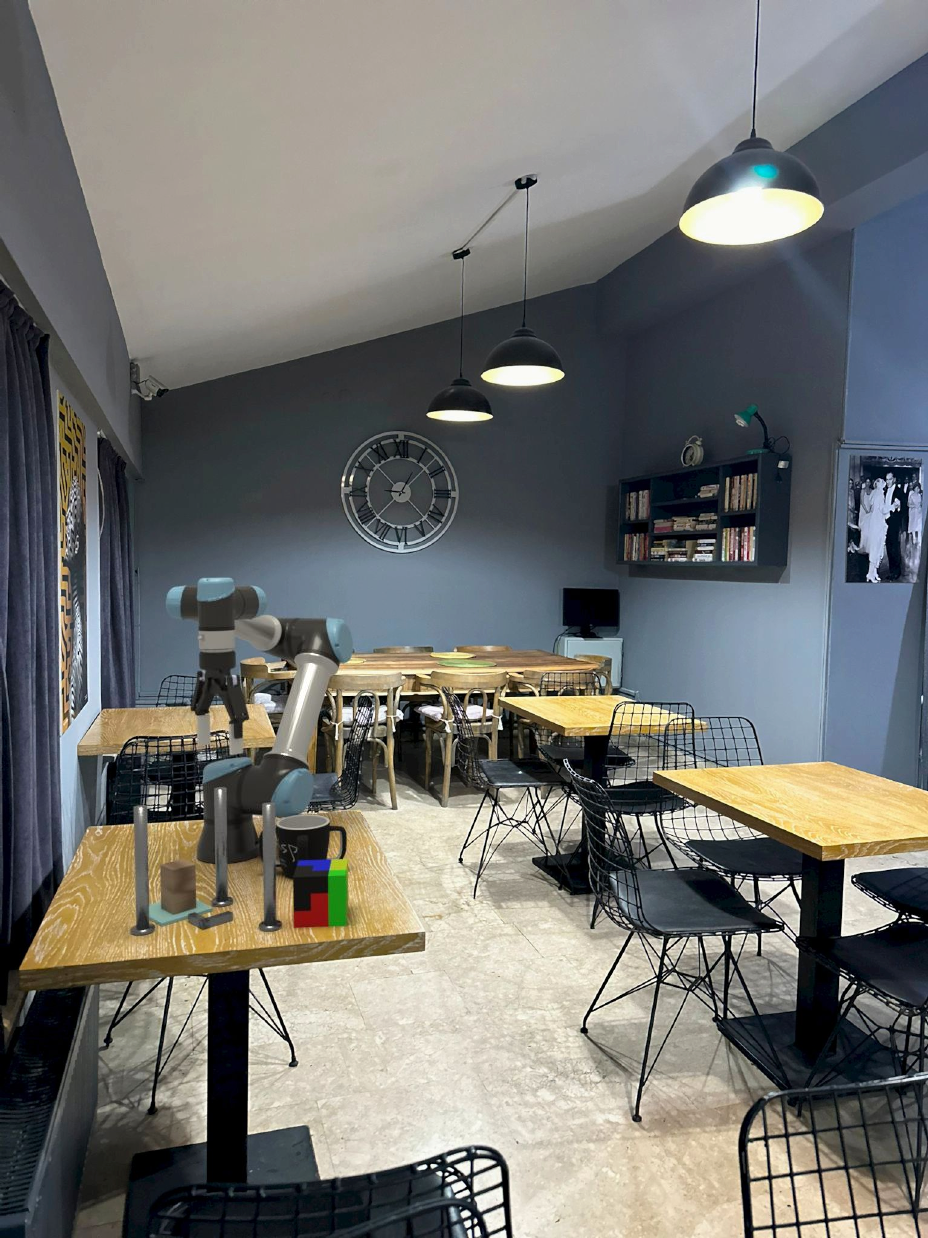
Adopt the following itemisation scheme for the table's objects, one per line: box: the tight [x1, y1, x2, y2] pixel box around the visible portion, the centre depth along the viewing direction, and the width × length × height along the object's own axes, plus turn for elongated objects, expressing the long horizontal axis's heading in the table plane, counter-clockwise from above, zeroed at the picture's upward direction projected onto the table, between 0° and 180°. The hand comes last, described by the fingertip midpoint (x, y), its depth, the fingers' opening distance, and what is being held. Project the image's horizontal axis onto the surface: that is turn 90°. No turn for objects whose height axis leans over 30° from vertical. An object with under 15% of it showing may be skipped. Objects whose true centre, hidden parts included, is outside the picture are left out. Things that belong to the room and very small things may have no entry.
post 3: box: [258, 803, 283, 933], centre depth 167 cm, size 4×4×24 cm
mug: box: [258, 814, 348, 879], centre depth 198 cm, size 16×16×12 cm
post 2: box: [210, 787, 234, 908], centre depth 180 cm, size 4×4×24 cm
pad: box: [149, 899, 214, 927], centre depth 176 cm, size 11×11×1 cm
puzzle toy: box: [292, 858, 350, 929], centre depth 172 cm, size 10×10×10 cm
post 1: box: [130, 804, 156, 937], centre depth 165 cm, size 4×4×24 cm
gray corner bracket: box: [187, 910, 234, 930], centre depth 171 cm, size 6×6×2 cm
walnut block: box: [159, 858, 197, 915], centre depth 175 cm, size 5×5×9 cm
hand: (219, 749), depth 185 cm, fingers open, 13 cm apart
